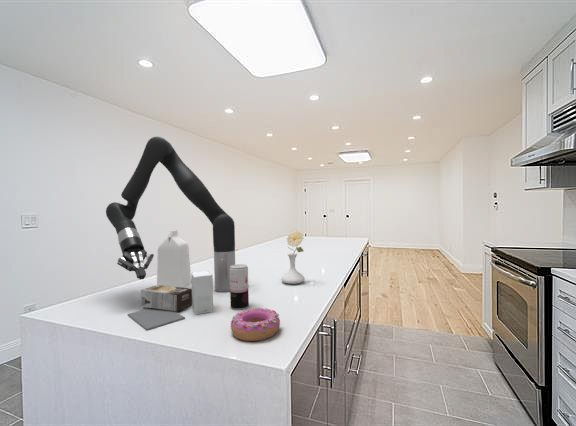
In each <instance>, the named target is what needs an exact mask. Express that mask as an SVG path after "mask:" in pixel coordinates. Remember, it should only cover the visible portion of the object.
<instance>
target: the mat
mask: <svg viewBox="0 0 576 426" xmlns="http://www.w3.org/2000/svg"><path fill="white" fill-rule="evenodd" d="M127 316H128V317H129V318H130V319H131V320H133V321H134V322H135V323H136V324H138V325H139V326H140V327H142V328H143V329H144V330H145V331H150V330H152V329H153V330H154V329H157V328H159V327H164V326H166V325H169V324H173V323H176V322H179V321H182V320H185V319H186V317H185V316H184V315H182V314H180V313H179V312H176V311H169V310H162V309H155V308H149V307H148V308H145V309H142V310H138V311H134V312H130V313H129V312H128V313H127Z"/></svg>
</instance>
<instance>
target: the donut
mask: <svg viewBox="0 0 576 426" xmlns="http://www.w3.org/2000/svg"><path fill="white" fill-rule="evenodd" d="M280 324H281V320H280V314H279V313H277V311H276V310H274V309H273V310H272V309H269V308H263V307H256V308H245V309H243V310H241V311H240V312H238V313H236V314H235V315H233V316H232V318H231V321H230V330H231V332H232V335H234V337H236V338H237V339H239V340H242V341H246V342H247V341H248V342H254V341H255V342H256V341H262V340H266V339H268V338H270V337H273V336H274V335H275V334H277V332H278V331H279V328H280V326H281V325H280Z"/></svg>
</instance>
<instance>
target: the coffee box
mask: <svg viewBox="0 0 576 426" xmlns="http://www.w3.org/2000/svg"><path fill="white" fill-rule="evenodd" d="M139 295H140V300H139V306H140V307H142V308H148V309H149V308H155V309H162V310H169V311H175V312H177V313H179V312H180V311H182V310H185V309H187V308H189V307H192V288H191V287H183V288H181V287H173V286H163V285H157V284H156V285H152V286H149V287H146V288H142V289H140V294H139Z"/></svg>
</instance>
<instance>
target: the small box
mask: <svg viewBox="0 0 576 426" xmlns="http://www.w3.org/2000/svg"><path fill="white" fill-rule="evenodd" d="M213 280H214V279H213V274H212V272H210V270H205V271H204V270H203V271H194V272H191V282H190V283H191V289H192V306H191V308H192V310H193V312H194V315H201V314H207V313H212V312H214V287H213V283H214V282H213Z"/></svg>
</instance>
